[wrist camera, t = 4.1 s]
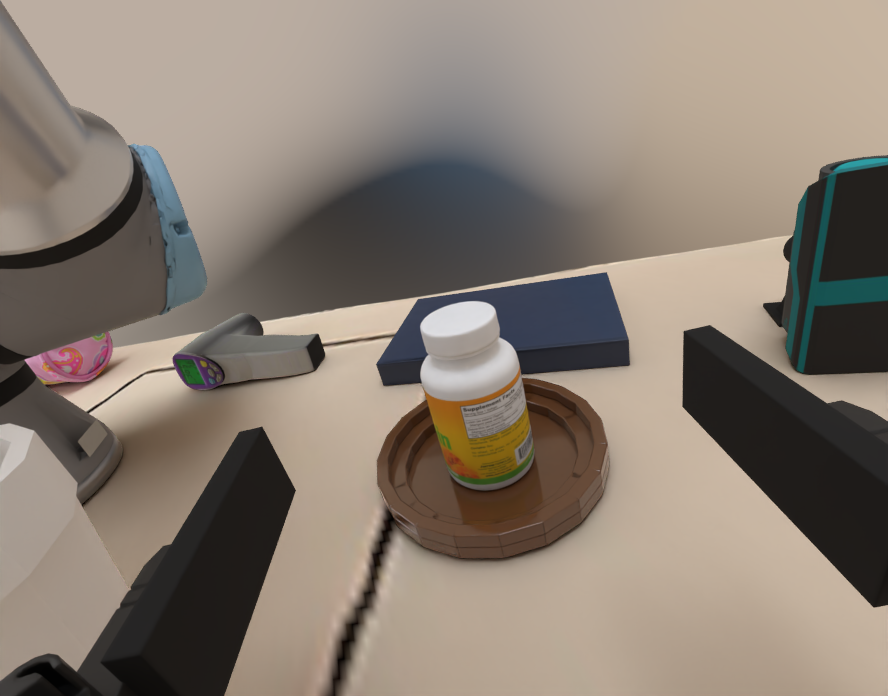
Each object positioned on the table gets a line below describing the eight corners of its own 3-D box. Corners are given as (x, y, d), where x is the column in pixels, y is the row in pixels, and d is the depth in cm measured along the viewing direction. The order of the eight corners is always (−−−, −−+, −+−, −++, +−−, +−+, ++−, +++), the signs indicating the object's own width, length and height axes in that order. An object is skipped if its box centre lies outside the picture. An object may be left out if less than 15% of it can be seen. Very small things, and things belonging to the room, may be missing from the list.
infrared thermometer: (313, 385, 43) (180, 395, 46) (349, 330, 54) (240, 341, 56) (298, 344, 41) (160, 357, 44) (339, 296, 52) (226, 309, 54)
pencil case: (-38, 407, 59) (-90, 350, 55) (30, 371, 67) (-11, 318, 63) (69, 398, 53) (20, 332, 49) (131, 359, 61) (93, 300, 57)
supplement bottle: (440, 446, 29) (400, 313, 24) (517, 421, 29) (491, 287, 25) (458, 506, 24) (412, 354, 20) (550, 475, 24) (525, 320, 20)
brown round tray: (341, 524, 25) (330, 502, 24) (444, 390, 35) (439, 372, 34) (580, 598, 18) (576, 571, 18) (623, 407, 28) (622, 384, 28)
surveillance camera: (866, 129, 28) (982, 148, 20) (834, 300, 34) (914, 370, 25) (762, 149, 30) (829, 174, 22) (748, 307, 35) (796, 375, 27)
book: (383, 385, 38) (375, 364, 37) (422, 316, 50) (417, 299, 49) (629, 365, 32) (628, 339, 31) (608, 292, 44) (606, 272, 43)
